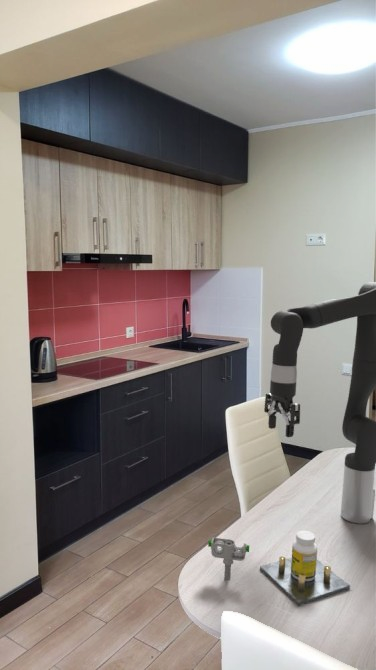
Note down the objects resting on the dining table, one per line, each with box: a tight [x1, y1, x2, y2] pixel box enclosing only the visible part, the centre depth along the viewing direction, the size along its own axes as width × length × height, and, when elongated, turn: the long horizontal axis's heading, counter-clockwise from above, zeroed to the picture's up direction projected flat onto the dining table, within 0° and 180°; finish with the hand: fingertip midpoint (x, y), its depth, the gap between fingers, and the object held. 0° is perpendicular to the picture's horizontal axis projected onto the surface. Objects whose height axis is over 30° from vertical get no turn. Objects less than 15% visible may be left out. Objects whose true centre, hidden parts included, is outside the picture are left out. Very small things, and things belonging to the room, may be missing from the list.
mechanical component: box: [207, 536, 250, 582], centre depth 132 cm, size 3×10×10 cm, turn 79°
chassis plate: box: [259, 556, 351, 607], centre depth 134 cm, size 16×16×4 cm
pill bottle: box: [291, 530, 318, 581], centre depth 133 cm, size 6×6×11 cm
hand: (280, 432), depth 156 cm, fingers open, 8 cm apart
